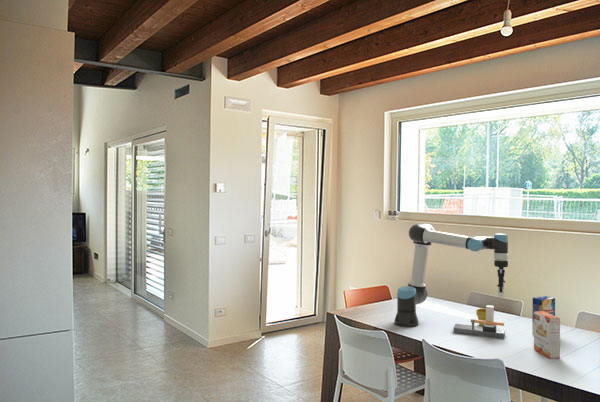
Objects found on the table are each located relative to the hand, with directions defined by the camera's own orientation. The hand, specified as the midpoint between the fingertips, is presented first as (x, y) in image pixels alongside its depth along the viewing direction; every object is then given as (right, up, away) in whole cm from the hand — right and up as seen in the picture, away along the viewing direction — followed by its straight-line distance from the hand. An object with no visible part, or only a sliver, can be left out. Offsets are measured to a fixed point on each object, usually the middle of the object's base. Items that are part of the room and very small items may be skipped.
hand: (501, 295), depth 278 cm
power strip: (-12, -23, +3) cm, 26 cm away
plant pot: (-2, -24, +20) cm, 31 cm away
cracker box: (+9, -24, -34) cm, 42 cm away
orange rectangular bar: (-9, -20, -2) cm, 22 cm away
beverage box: (+26, -24, +1) cm, 35 cm away
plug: (-7, -20, 0) cm, 22 cm away
